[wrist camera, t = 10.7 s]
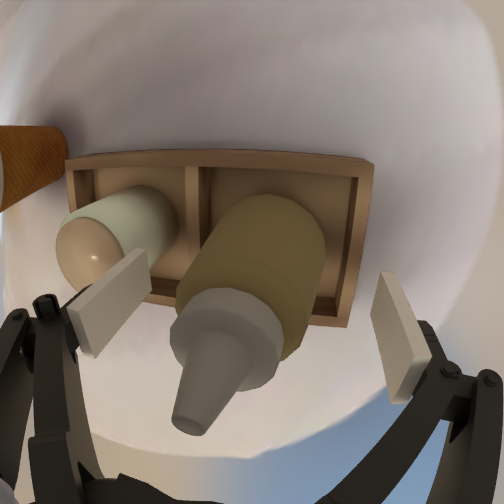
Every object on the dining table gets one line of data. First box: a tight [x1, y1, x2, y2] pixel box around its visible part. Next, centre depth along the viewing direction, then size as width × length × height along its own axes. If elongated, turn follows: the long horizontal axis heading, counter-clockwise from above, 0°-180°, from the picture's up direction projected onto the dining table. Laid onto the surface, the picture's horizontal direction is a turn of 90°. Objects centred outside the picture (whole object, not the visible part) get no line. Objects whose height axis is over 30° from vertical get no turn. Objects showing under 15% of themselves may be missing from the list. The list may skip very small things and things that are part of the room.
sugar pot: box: [56, 185, 179, 292], centre depth 22 cm, size 7×7×9 cm
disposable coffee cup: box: [0, 125, 68, 213], centre depth 21 cm, size 10×10×12 cm
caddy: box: [65, 149, 374, 328], centre depth 25 cm, size 13×25×4 cm, turn 88°
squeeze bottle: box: [170, 194, 326, 436], centre depth 16 cm, size 8×8×18 cm
